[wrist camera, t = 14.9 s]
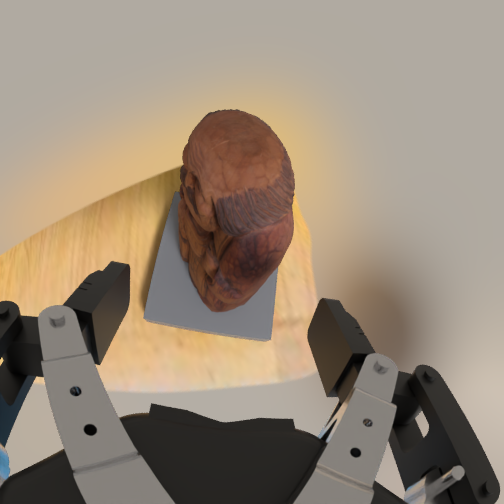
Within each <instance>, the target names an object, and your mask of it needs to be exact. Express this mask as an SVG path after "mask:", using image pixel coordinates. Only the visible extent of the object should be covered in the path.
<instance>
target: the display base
mask: <svg viewBox="0 0 504 504" xmlns="http://www.w3.org/2000/svg"><path fill="white" fill-rule="evenodd" d="M180 200H181V197H180V194H179V192H175V194H174V197H173V201H172V204H171V207H170V211H169V214H168V218H167V221H166V225H165V228H164V232H163V235H162V239H161V243H160V247H159V251H158V255H157V259H156V263H155V267H154V271H153V275H152V280H151V284H150V288H149V293H148V298H147V302H146V307H145V312H144V317H143V318H144V319H145V320H146V321H147V322H152V323H156V324H161V325H166V326H171V327H176V328H181V329H186V330H192V331H197V332H203V333H209V334H215V335H221V336H228V337H234V338H241V339H249V340H256V341H269V340H271V334H272V325H273V315H274V305H275V294H276V283H277V272H278V267H277V269H276V270H275V271H274V272H273V273H272V274H271V275H270V276H269V278H268V279H267V280H266V282H265V283H264V284H263V285H262V286H261V287H260V289H259V290H258V291H257V292H256V293H255V294H254V295H253V296H252V297H251V298H250V299H249V300H248V302H246V303H245V304H244V305H242V306H239V307H237V308H235V309H232V310H229V311H227V312H212V311H211V310H210V309H209V308H208V307H207V306H206V305H205V304H204V303H203V302H202V300H201V298H200V296H199V294H198V291H197V289H196V288H195V287H194V285H193V283H192V282H191V278H190V273H189V263H188V262H185V261H183V260H182V257H181V254H180V243H179V228H178V227H179V221H178V204H179V202H180Z"/></svg>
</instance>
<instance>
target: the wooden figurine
mask: <svg viewBox="0 0 504 504" xmlns="http://www.w3.org/2000/svg"><path fill="white" fill-rule="evenodd" d="M183 163H184V165H183V166H182V167H181V170H180V171H181V174H180V179H181V182H182V184H181V187H180V192H179V194H180V197H181V200H180V202H179V204H178V221H179V227H178V228H179V243H180V254H181V257H182V260H183V261H185V262H188V263H189V273H190V278H191V282H192V283H193V285H194V287H195V288H196V289H197V291H198V294H199V296H200V298H201V300H202V302H203V303H204V304H205V305H206V306H207V307H208V308H209V309H210V310H211V311H212V312H227V311H229V310H232V309H235V308H237V307H239V306H242V305H244V304H245V303H246V302H248V300H249V299H250V298H251V297H252V296H253V295H254V294H255V293H256V292H257V291H258V290H259V289H260V287H261V286H262V285H263V284H264V283H265V282H266V280H267V279H268V278H269V276H270V275H271V274H272V273H273V272H274V271H275V270H276V269H277V267H278V266H279V265H280V263H281V261H282V259H283V257H284V255H285V253H286V251H287V249H288V247H289V245H290V243H291V240H292V237H293V230H294V221H293V212H292V204H293V196H294V189H295V183H294V182H295V181H294V173H293V170H292V167H291V161H290V158H289V156H288V154H287V151H286V149H285V147H284V146H283V144H282V142H281V141H280V139H279V138H278V137H277V135H276V134H275V133H274V132H273V131H272V130H271V128H270V126H268V125H267V124H266V123H265V122H264V121H262V120H260V119H259V118H258V117H256V116H253V115H251V114H248V113H246V112H243V111H239V110H231V109H230V110H222V111H220V110H218V111H215V112H210V113H208V114H207V115H206V116H205V117H204V118H203V119H202V120H201V122H200V123H199V124H198V125H197V126H196V127H195V129H194V130H193V131H192V134H191V135H190V137H189V140H188V144H187V145H186V146H185V148H184V151H183Z"/></svg>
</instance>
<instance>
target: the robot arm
mask: <svg viewBox="0 0 504 504" xmlns="http://www.w3.org/2000/svg"><path fill="white" fill-rule="evenodd" d="M129 301H130V266H129V264H124V263H119V262H114V261H111V262H110V263H109V265H108V266H107V267H106V268H105V269H104V270H103V271H100V270H98V271H96V272H94V273H92V274H90V275H88V277H87V278H86V279H85V280H84V281H83V283H81V284H80V286H79V287H78V288H77V289H76V290H75V291H74V292H73V294H72V295H71V296H70V297H69V298H68V299H67V301H66V302H65V303H64V304H63V305H55V306H50V307H48V308H46V309H44V310H43V311H42V312H41V313H40V314H39V317H32V316H21V314H20V310H19V307H18V305H17V304H15V303H14V302H11V301H1V302H0V359H1V357H2V358H3V360H4V361H3V363H2V364H1V366H0V504H494V503H495V502H496V501H497V500H498V498H499V494H500V486H499V482H498V480H497V478H496V475H495V473H494V471H493V469H492V467H491V464H490V462H489V460H488V458H487V456H486V454H485V452H484V450H483V448H482V446H481V444H480V442H479V440H478V439H477V437H476V435H475V433H474V431H473V429H472V427H471V425H470V424H469V422H468V420H467V418H466V416H465V415H464V413H463V411H462V410H461V408H460V406H459V404H458V403H457V401H456V399H455V398H454V396H453V394H452V393H451V391H450V390H449V388H448V386H447V385H446V383H445V381H444V380H443V378H442V377H441V375H440V374H439V373H438V372H437V371H436V370H435V369H433V368H432V367H430V366H427V365H419V366H417V367H416V369H415V370H414V371H413V373H412V374H409V373H405V372H400V371H398V368H397V366H396V364H395V363H394V362H393V361H392V360H391V359H390V358H388V357H386V356H384V355H382V354H377V353H375V351H374V349H373V347H372V346H371V344H370V343H369V341H368V339H367V337H366V336H365V335H364V332H363V331H362V329H360V326H359V324H358V322H357V321H356V319H355V318H353V317H352V316H351V315H350V314H349V313H348V312H346V311H345V309H344V308H343V306H342V304H341V303H340V301H339V300H333V299H326V298H322V299H321V300H320V301H319V303H318V306H317V308H316V311H315V313H314V316H313V318H312V321H311V323H310V326H309V329H308V342H309V345H310V348H311V351H312V354H313V357H314V360H315V363H316V366H317V369H318V372H319V375H320V378H321V381H322V384H323V387H324V390H325V393H326V396H327V397H338V398H339V401H338V403H337V404H336V406H335V407H334V409H333V411H332V413H331V415H330V417H329V418H328V420H327V422H326V424H325V425H324V427H323V429H322V430H321V432H320V434H319V435H318V437H316V436H315V435H313V434H310V433H308V432H305V431H302V430H299V429H295V426H294V422H293V419H271V418H257V419H250V420H243V421H235V422H227V423H226V422H219V421H216V420H213V419H210V418H207V417H204V416H201V415H198V414H196V413H193V412H190V411H188V410H183V409H177V408H172V407H166V406H161V405H157V404H151V407H150V411H149V413H138V414H131V415H126V416H123V417H120V418H119V417H118V416H117V413H116V411H115V409H114V407H113V405H112V403H111V401H110V399H109V396H108V394H107V392H106V390H105V388H104V385H103V383H102V381H101V378H100V376H99V373H98V371H97V368H96V366H95V364H97V365H100V364H101V362H102V360H103V358H104V356H105V354H106V352H107V350H108V348H109V346H110V344H111V342H112V340H113V338H114V336H115V334H116V332H117V330H118V328H119V326H120V324H121V322H122V320H123V318H124V316H125V314H126V312H127V310H128V307H129ZM36 376H38V377H44V380H45V385H46V389H47V393H48V397H49V401H50V405H51V409H52V412H53V416H54V419H55V423H56V426H57V429H58V432H59V435H60V438H61V441H62V444H63V446H64V449H63V450H61V451H59V452H57V453H55V454H53V455H51V456H50V457H48V458H46V459H44V460H42V461H40V462H38V463H36V464H34V465H32V466H30V467H28V468H26V469H24V470H22V471H20V472H18V473H16V474H13V475H12V476H10V477H9V473H10V468H9V457H8V454H7V451H6V450H5V445H6V443H7V440H8V437H9V435H10V432H11V430H12V427H13V425H14V422H15V420H16V418H17V415H18V413H19V411H20V409H21V406H22V404H23V402H24V400H25V398H26V395H27V393H28V392H29V390H30V387H31V386H32V384H33V382H34V380H35V378H36ZM421 411H423V413H424V415H425V417H426V419H427V421H428V424H429V431H428V433H427V435H426V436H425V437H424V438H423V436H422V433H421V431H420V429H419V427H418V424H417V422H416V420H415V417H416V416H417V415H418V414H419V413H420V412H421ZM388 441H389V444H390V447H391V449H392V452H393V455H394V458H395V461H396V464H397V467H398V470H399V473H400V476H401V479H402V482H403V485H404V488H405V496H404V500H402V499H401V498H399V497H398V496H396V495H395V494H393V493H392V492H390V491H389V490H387V489H386V488H385V487H383V486H382V485H380V484H379V483H377V482H376V481H375V477H376V475H377V472H378V469H379V466H380V463H381V461H382V458H383V454H384V452H385V448H386V445H387V442H388Z"/></svg>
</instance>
